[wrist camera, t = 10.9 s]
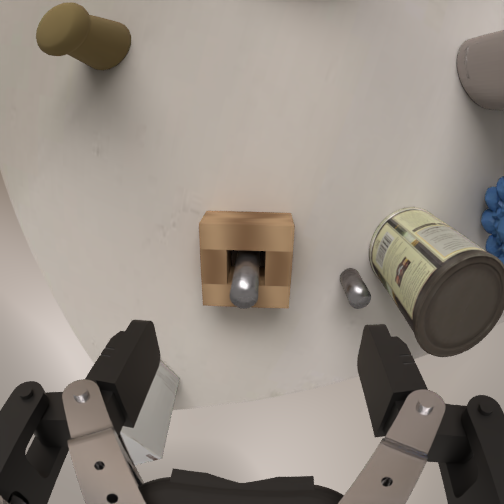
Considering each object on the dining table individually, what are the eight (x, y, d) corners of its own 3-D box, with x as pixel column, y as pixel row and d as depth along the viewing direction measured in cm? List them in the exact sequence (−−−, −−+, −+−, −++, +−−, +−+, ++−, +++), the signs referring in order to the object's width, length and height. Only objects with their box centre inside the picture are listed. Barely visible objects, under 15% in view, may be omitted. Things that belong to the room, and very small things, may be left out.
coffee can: (442, 277, 37) (499, 340, 24) (370, 293, 38) (410, 370, 25) (443, 200, 33) (517, 243, 20) (365, 213, 34) (418, 267, 21)
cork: (116, 76, 29) (61, 64, 19) (76, 63, 28) (17, 52, 18) (140, 28, 27) (93, -2, 17) (98, 17, 26) (45, -9, 16)
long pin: (260, 241, 36) (258, 284, 27) (259, 261, 37) (257, 308, 28) (238, 240, 36) (229, 283, 27) (238, 260, 37) (229, 307, 28)
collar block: (290, 213, 35) (294, 226, 30) (285, 287, 38) (288, 308, 34) (206, 211, 35) (199, 223, 31) (209, 285, 38) (203, 305, 34)
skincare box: (119, 355, 44) (80, 430, 30) (145, 340, 42) (108, 421, 28) (156, 391, 46) (131, 467, 32) (184, 379, 45) (162, 461, 31)
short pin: (360, 268, 37) (372, 288, 32) (357, 286, 38) (368, 308, 33) (341, 268, 37) (351, 288, 32) (338, 286, 38) (347, 308, 33)
